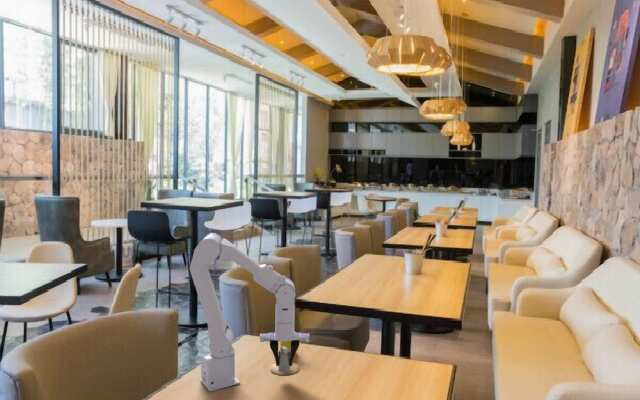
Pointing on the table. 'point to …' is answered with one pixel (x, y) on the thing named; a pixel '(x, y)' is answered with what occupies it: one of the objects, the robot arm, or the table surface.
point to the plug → (284, 360)
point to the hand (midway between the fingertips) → (284, 364)
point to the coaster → (293, 369)
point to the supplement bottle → (286, 345)
